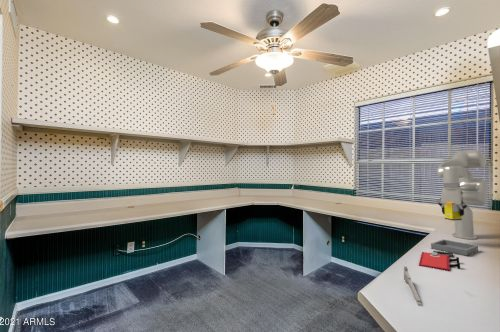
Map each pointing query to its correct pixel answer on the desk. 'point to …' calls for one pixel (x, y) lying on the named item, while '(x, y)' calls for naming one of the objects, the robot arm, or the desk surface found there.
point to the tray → (454, 247)
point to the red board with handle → (438, 260)
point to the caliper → (411, 285)
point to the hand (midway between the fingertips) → (452, 214)
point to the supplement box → (452, 211)
